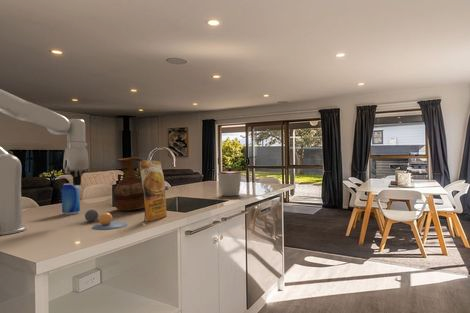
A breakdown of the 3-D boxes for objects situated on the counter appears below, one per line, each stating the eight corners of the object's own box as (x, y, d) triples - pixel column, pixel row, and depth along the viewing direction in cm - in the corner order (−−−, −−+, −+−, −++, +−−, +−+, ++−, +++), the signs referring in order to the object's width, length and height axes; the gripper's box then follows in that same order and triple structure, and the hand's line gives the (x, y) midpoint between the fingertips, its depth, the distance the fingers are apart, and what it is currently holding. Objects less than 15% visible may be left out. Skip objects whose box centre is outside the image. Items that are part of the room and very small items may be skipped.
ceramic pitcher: (107, 210, 168) (107, 157, 168) (140, 205, 183) (139, 156, 183) (124, 214, 155) (123, 156, 155) (158, 208, 170) (157, 156, 170)
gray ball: (85, 207, 139) (80, 218, 137) (92, 208, 136) (87, 220, 134) (95, 211, 143) (90, 222, 141) (102, 212, 140) (97, 223, 138)
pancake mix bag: (135, 222, 136) (134, 160, 136) (160, 214, 153) (159, 159, 153) (147, 223, 133) (145, 160, 133) (171, 215, 151) (170, 159, 151)
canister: (246, 194, 225) (246, 166, 225) (233, 197, 210) (233, 167, 210) (226, 193, 235) (226, 166, 235) (213, 196, 219) (212, 167, 219)
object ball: (96, 214, 131) (98, 226, 130) (100, 213, 127) (102, 226, 126) (108, 211, 134) (110, 223, 134) (113, 210, 131) (115, 223, 130)
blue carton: (83, 212, 163) (82, 182, 163) (73, 215, 155) (73, 184, 155) (69, 212, 164) (68, 183, 164) (58, 215, 156) (57, 184, 156)
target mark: (116, 230, 121) (116, 229, 121) (84, 229, 123) (84, 229, 123) (133, 222, 135) (133, 222, 135) (104, 222, 137) (104, 221, 137)
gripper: (85, 146, 148) (86, 183, 148) (55, 145, 134) (56, 186, 134) (95, 146, 144) (96, 184, 144) (65, 145, 131) (66, 186, 131)
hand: (77, 185), depth 139 cm, fingers closed
